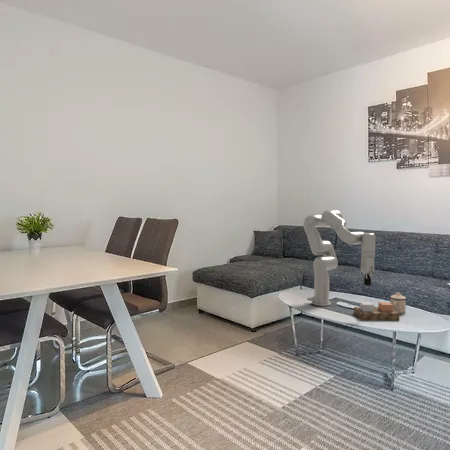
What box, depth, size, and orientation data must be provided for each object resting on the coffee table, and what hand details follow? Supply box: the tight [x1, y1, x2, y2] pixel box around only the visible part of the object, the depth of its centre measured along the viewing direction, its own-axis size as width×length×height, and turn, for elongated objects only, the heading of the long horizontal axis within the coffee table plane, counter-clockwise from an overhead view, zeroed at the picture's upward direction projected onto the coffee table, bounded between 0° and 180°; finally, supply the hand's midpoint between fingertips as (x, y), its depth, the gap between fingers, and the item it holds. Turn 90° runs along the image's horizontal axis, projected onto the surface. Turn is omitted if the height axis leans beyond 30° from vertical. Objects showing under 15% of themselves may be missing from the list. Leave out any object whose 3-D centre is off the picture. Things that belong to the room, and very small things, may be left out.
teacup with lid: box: [389, 292, 407, 314], centre depth 238 cm, size 12×9×12 cm
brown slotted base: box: [353, 306, 401, 321], centre depth 228 cm, size 22×13×4 cm, turn 90°
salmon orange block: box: [377, 301, 393, 312], centre depth 228 cm, size 6×6×5 cm
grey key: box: [359, 301, 375, 312], centre depth 228 cm, size 6×6×5 cm
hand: (367, 284), depth 227 cm, fingers closed
